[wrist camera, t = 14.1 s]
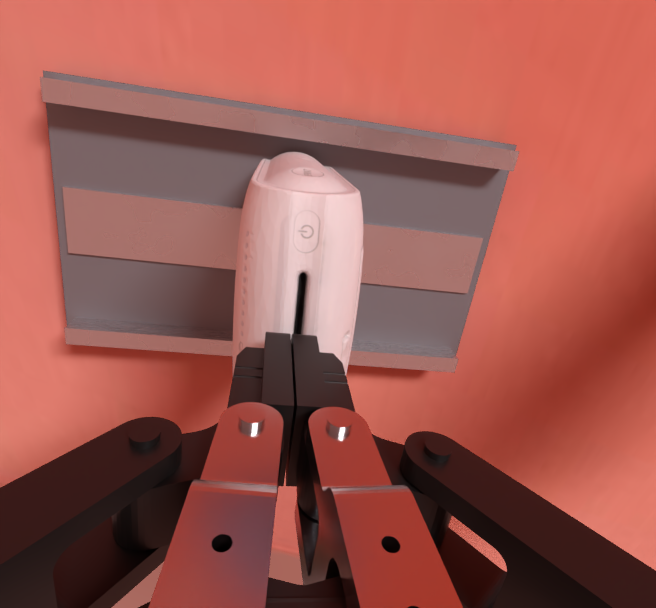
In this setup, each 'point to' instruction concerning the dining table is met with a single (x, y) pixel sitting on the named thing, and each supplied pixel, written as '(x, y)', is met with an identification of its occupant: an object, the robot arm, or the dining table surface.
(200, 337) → the striped rectangular tray
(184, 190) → the mounting board
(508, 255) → the dining table surface
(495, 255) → the dining table surface
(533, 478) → the dining table surface
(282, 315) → the photo printer
